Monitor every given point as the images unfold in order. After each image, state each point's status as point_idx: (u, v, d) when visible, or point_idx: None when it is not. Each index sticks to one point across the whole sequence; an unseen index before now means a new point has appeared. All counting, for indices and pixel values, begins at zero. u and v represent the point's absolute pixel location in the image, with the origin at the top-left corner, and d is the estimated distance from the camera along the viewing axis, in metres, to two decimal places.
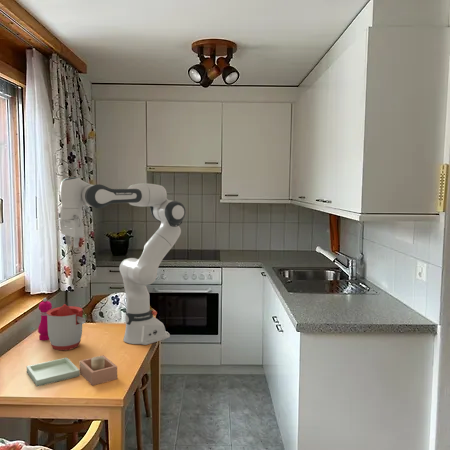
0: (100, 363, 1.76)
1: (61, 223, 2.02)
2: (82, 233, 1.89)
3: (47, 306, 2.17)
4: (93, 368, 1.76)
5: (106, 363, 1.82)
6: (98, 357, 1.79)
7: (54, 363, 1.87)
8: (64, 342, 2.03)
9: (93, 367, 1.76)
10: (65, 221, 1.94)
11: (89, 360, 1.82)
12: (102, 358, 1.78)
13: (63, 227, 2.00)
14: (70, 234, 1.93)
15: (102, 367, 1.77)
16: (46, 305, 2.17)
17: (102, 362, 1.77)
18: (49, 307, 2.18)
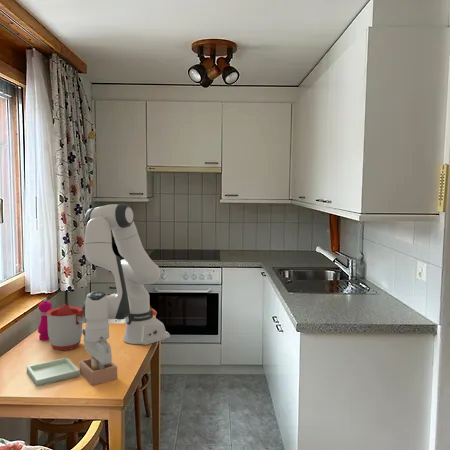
0: None
1: (85, 339, 1.82)
2: (110, 359, 1.70)
3: (47, 306, 2.17)
4: (93, 368, 1.76)
5: None
6: None
7: (54, 363, 1.87)
8: (64, 342, 2.03)
9: (93, 367, 1.76)
10: (91, 342, 1.75)
11: (89, 360, 1.82)
12: None
13: (88, 345, 1.81)
14: (96, 358, 1.74)
15: None
16: (46, 305, 2.17)
17: None
18: (49, 307, 2.18)
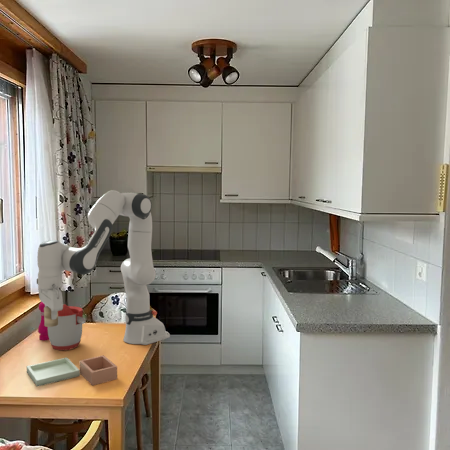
0: None
1: (39, 289, 1.82)
2: (61, 305, 1.70)
3: None
4: (45, 316, 1.75)
5: (106, 363, 1.82)
6: None
7: (54, 363, 1.87)
8: (64, 342, 2.03)
9: (45, 315, 1.75)
10: (43, 290, 1.74)
11: (89, 360, 1.82)
12: None
13: (42, 295, 1.80)
14: (48, 305, 1.73)
15: None
16: None
17: None
18: None
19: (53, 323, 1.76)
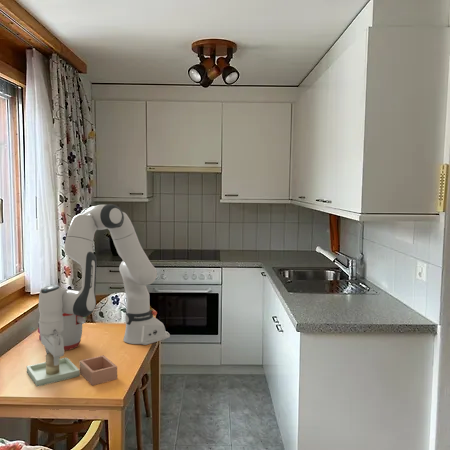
0: (53, 359, 1.77)
1: (41, 333, 1.84)
2: (62, 351, 1.71)
3: None
4: (47, 364, 1.77)
5: (106, 363, 1.82)
6: None
7: None
8: (64, 342, 2.03)
9: (47, 363, 1.77)
10: (44, 335, 1.76)
11: (89, 360, 1.82)
12: None
13: (43, 338, 1.82)
14: (49, 351, 1.75)
15: None
16: None
17: None
18: None
19: (54, 371, 1.78)
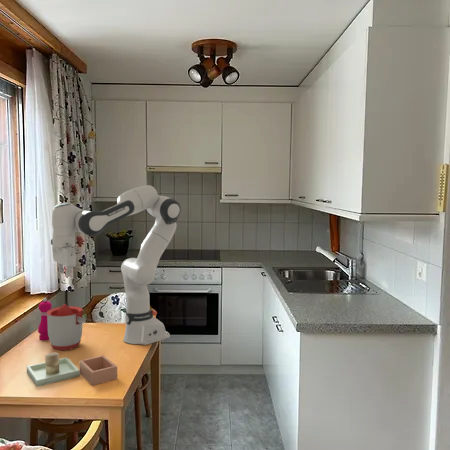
0: (53, 359, 1.77)
1: (53, 250, 1.95)
2: (75, 262, 1.82)
3: (47, 306, 2.17)
4: (47, 364, 1.77)
5: (106, 363, 1.82)
6: (52, 353, 1.80)
7: None
8: (64, 342, 2.03)
9: (47, 363, 1.77)
10: (57, 249, 1.87)
11: (89, 360, 1.82)
12: (56, 354, 1.79)
13: (56, 254, 1.93)
14: (62, 263, 1.86)
15: (56, 363, 1.78)
16: (46, 305, 2.17)
17: (56, 358, 1.78)
18: (49, 307, 2.18)
19: (54, 371, 1.78)
